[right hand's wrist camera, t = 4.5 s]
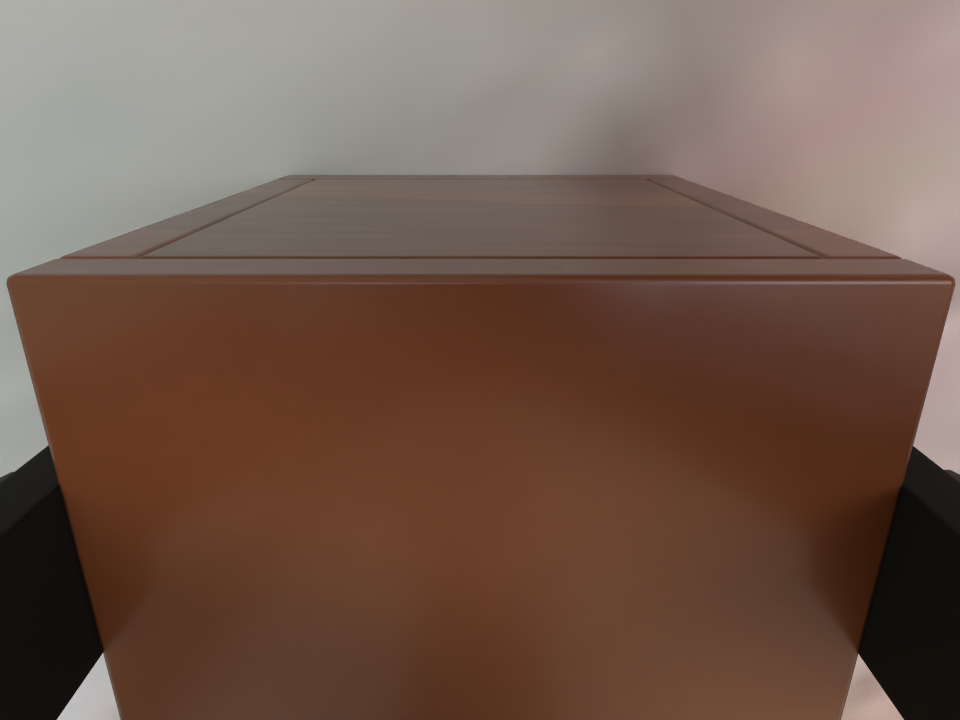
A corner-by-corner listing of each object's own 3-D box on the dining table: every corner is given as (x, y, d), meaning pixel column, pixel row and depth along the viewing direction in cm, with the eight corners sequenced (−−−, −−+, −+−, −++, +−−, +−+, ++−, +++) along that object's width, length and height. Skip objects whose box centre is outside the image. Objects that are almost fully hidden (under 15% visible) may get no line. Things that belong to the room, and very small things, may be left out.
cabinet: (620, 715, 25) (724, 1171, 14) (340, 715, 25) (236, 1170, 14) (675, 174, 18) (961, 276, 7) (286, 175, 18) (-1, 275, 7)
